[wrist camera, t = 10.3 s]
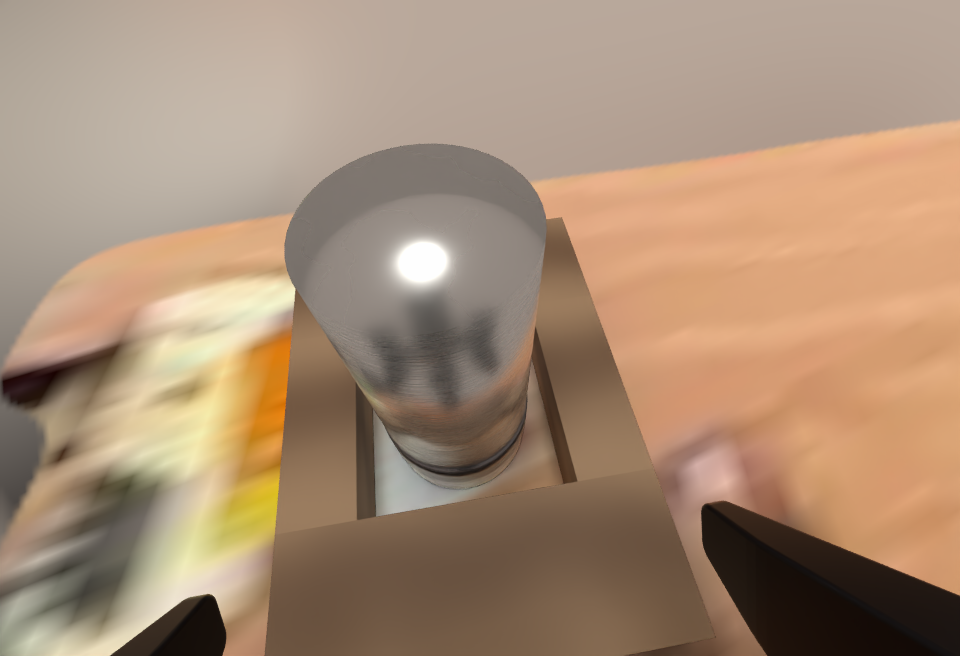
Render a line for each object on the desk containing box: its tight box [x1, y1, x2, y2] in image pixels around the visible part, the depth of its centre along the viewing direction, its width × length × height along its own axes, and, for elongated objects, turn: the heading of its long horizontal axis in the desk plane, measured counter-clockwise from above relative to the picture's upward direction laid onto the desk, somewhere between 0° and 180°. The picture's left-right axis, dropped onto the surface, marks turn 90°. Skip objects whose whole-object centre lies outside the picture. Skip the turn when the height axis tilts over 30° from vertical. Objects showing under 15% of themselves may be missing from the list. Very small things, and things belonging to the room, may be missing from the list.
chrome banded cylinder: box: [285, 144, 547, 489], centre depth 13 cm, size 5×5×11 cm
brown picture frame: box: [265, 217, 716, 656], centre depth 17 cm, size 16×12×2 cm
